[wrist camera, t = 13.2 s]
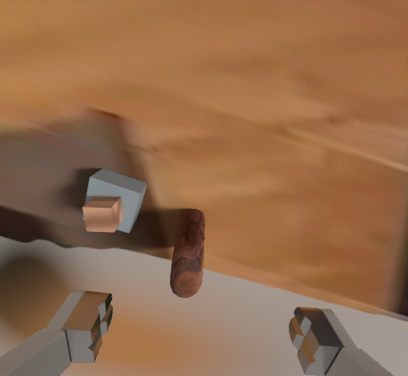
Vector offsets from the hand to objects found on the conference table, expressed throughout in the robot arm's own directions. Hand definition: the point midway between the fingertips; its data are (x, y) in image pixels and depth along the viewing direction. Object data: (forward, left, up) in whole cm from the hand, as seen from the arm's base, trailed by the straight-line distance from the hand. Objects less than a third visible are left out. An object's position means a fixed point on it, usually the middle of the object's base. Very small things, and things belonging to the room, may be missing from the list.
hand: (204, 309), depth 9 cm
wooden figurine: (+20, 0, -37) cm, 42 cm away
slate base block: (+13, -17, -37) cm, 43 cm away
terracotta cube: (+13, -17, -31) cm, 38 cm away
